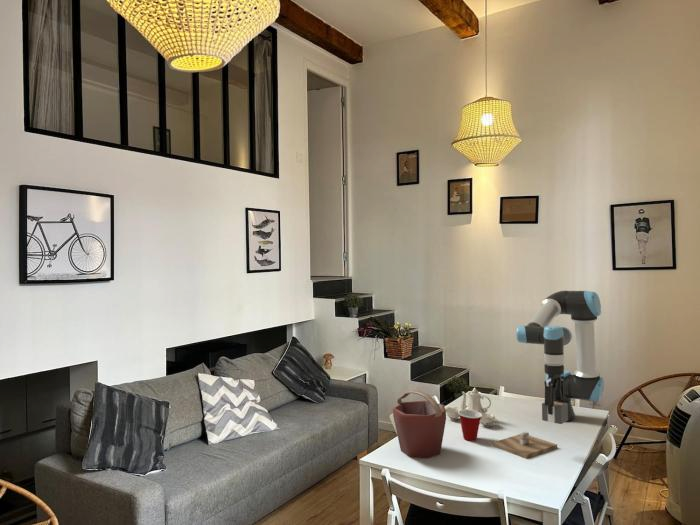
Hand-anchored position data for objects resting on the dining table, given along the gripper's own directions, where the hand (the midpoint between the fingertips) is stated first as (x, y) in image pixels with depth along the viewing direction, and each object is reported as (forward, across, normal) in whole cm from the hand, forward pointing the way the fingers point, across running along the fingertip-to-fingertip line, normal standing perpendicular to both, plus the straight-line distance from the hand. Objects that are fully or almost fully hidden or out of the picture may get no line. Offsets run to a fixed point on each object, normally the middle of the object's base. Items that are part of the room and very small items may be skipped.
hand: (555, 419), depth 221 cm
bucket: (+15, +32, -45) cm, 57 cm away
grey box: (0, 0, 0) cm, 0 cm away
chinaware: (+15, -17, -50) cm, 55 cm away
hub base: (+15, 0, -14) cm, 20 cm away
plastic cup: (+15, +6, -37) cm, 40 cm away
